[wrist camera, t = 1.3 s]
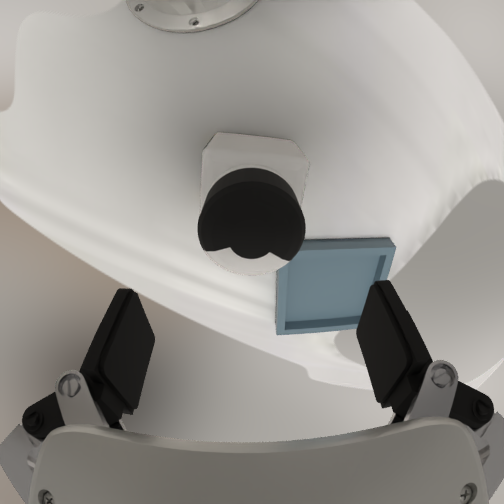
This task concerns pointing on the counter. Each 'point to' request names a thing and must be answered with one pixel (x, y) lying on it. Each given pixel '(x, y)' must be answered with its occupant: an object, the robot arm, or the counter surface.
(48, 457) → the robot arm
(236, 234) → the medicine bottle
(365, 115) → the counter surface
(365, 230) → the counter surface
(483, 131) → the counter surface
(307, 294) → the tray
